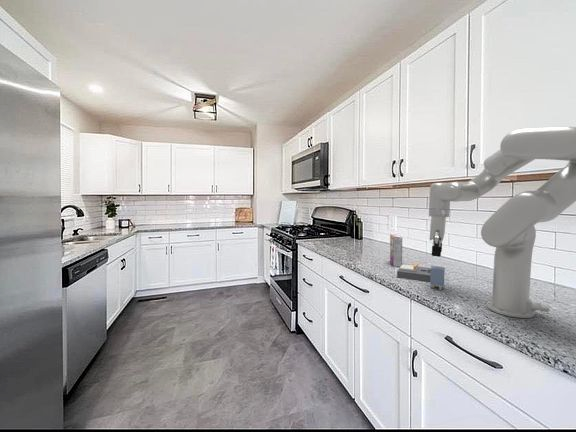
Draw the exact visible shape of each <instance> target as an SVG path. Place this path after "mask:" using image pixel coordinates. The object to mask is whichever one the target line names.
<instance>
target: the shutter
mask: <svg viewBox="0 0 576 432" xmlns="http://www.w3.org/2000/svg"><path fill="white" fill-rule="evenodd" d="M418 265H419V263H418V262H415V263H414V265H412V264H410V265H409V264H402V265H401V267H399V268H400V270H407V271H417V269H418V267H419V266H418Z"/></svg>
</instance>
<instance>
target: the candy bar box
mask: <svg viewBox="0 0 576 432" xmlns="http://www.w3.org/2000/svg"><path fill="white" fill-rule="evenodd" d="M389 262H390V265H391V266H392V267H394V268H400V267H401V265H403V237H402V236H401V235H399V234H393V233H392V234H390V235H389Z"/></svg>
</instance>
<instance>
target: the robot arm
mask: <svg viewBox="0 0 576 432" xmlns="http://www.w3.org/2000/svg"><path fill="white" fill-rule="evenodd" d="M499 148H500V149H499V150H497V151H496V152H494V153H492V155H490V156H488V157H487V158H486V159H484V161H483V167H484V169H483V170H482V171H481V173H479V174H478V175H476V176H475V177H473V178H472V179H470V180H469V181H451V182H434V183H432V184H430V187H429V199H428V200H429V201H428V203H429V204H428V217H430V227H429V241H432V240H433V241H432V246H431V257H442V256H441V255H442V251H443V241H444V237H445V232H446V220H447V218H450V209H451V202H455V203H456V202H471V201H474V200H476V199H479V198H480V197H482V196H483V195H485V194H487V193H488V192H489V193H490V191H492V190H493V189H495V188H496V187H497V186H498V185H499V184H500V183H501V181H502V180H503V179H504V178H506V177H508V176H510V175H511V174H513V173H514V172H516V171H518V170H519V169H521V168H523V167H524V166H526V165H528V164H529V163H531V162H533V161H535V160H555V161H567V162H568V163H567V164H566V165H565V166H564V167H562V168H561V169H560V170H559V171H557V172H555V173H554V174H553V175H552V176H551V177H550V178H549V179H548V180H547V181H546V182H544V183H543V184H542V185H541V186H539V187H538V188H537V189H535V190H525V191H521V192H519V193H517V194H515V195H513V196H512V197H511V198H509V199H508V200H506V202H504V203H503V205H501V206H500V207H499V208H498V209H497V210H496V211H494V213H492V215H490V217H489V218H487V220H486V221H485V222H484V223H483V224H482V227H481V230H480V236H481V239H482V240H483V242H484V243H486V245H488V246H491V247H493V248H495V251H494V257H493V272H492V273H493V274H492V275H493V279H492V280H493V281H492V296H491V297H492V299H490V300H488V301H487V302H486V308H488V309H489V310H490V311H492V312H494V313H497V314H500V315H502V316H506V317H513V318H517V319H519V318H520V319H529V318H530V319H531V318H533V317H535V315H536V311H540V312H544V313H545V312H546V313H549V311H550V307H549V305H544V304H542V302H541V303H540V302H532V300H531V299H530V292H531V291H530V289H531V288H530V287H531V272H532V257H533V249H534V246H535V242H536V236H537V231H536V227H535V225H536V224H538V223H546V222H550V221H552V220H553V221H554V220H555V219H556V218H558V216H560V215H561V214H562V213H563V212H564V211H566V210H567V209H568V208H569V207H571V206H572V205H573V204H575V202H576V126H559V127H556V126H554V127H534V128H533V127H531V128H530V127H529V128H518V129H517V128H516V129H515V130H512V131H510V132H508V133H507V134H506V135H505V136H504V137H503V139H501V142H500V147H499Z"/></svg>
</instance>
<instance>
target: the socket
mask: <svg viewBox="0 0 576 432" xmlns="http://www.w3.org/2000/svg"><path fill="white" fill-rule="evenodd" d="M396 272H397V275H396V277H397V278H399V279H405V280H414V281H421V282H426V283H427V282H428V283H430V272H431V267H427V266H425V267H424V266H418V269H417V271H407V270H400V267H398V270H397V271H396Z"/></svg>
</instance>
